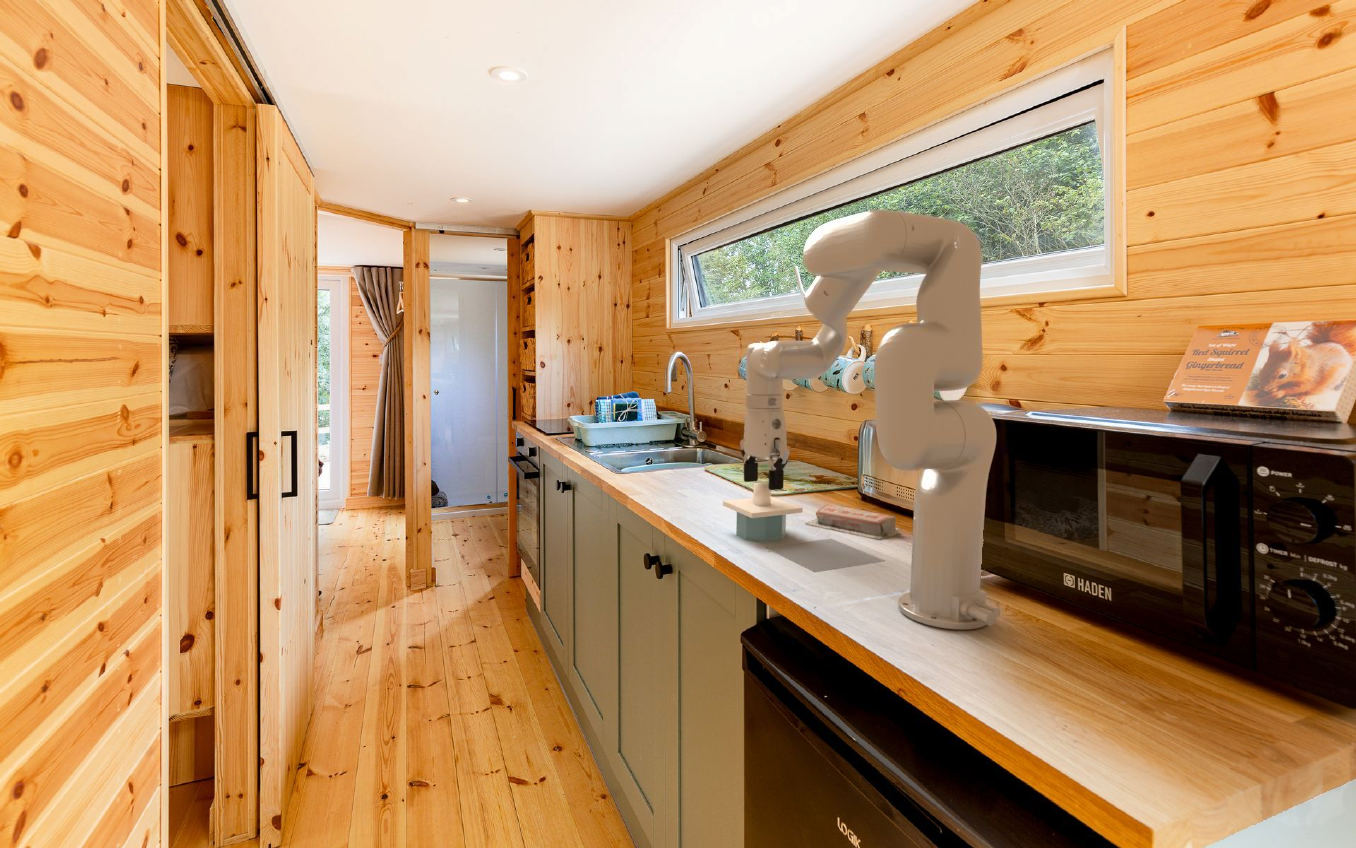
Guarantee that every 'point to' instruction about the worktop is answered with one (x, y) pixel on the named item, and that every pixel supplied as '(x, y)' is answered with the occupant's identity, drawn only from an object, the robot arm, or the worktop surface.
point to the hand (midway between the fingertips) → (762, 485)
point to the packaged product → (855, 522)
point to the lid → (762, 503)
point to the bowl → (761, 528)
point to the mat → (824, 555)
